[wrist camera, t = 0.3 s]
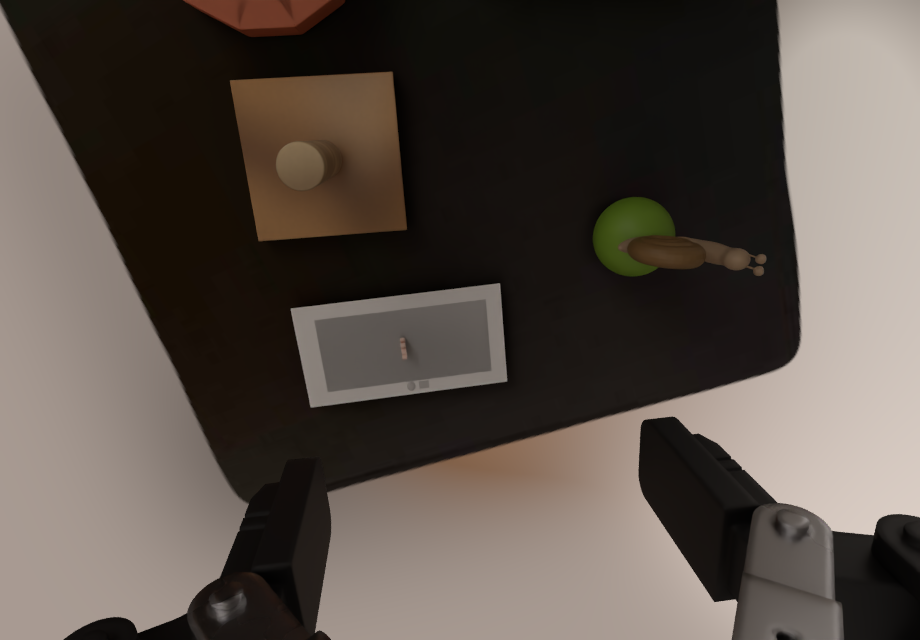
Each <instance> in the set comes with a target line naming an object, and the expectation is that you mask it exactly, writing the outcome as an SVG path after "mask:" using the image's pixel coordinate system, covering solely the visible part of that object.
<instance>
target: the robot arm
mask: <svg viewBox="0 0 920 640" xmlns="http://www.w3.org/2000/svg"><path fill="white" fill-rule="evenodd" d="M639 481H640V486H641V490H642V493H643V495H644V497H645V499H646V500H647V502H648V503H649V505H650V506H651V508H652V509H653V511H654V512H655V514H656V515H657V517H658V518H659V520H660V521H661V523H662V524H663V526H664V527H665V529H666V530H667V532H668V533H669V535H670V536H671V538H672V539H673V541H674V542H675V544H676V545H677V547H678V548H679V549H680V551H681V553H682V554H683V555H684V557H685V558H686V560H687V561H688V563H689V564H690V566H691V567H692V569H693V571H694V572H695V574H696V575H697V577H698V578H699V580H700V581H701V583H702V584H703V586H704V587H705V588H706V590H707V591H708V593H709V594H710V596H711V598H712V599H713V600H714V602H719V601H725V600H732V599H736V601H737V602H738V604H737V611H736V616H735V622H734V629H733V635H732V640H920V518H919V517H915V516H910V515H902V514H893V515H887V516H884V517H882V518H881V519H879V520H878V522H877V525H876V529H875V533H874V535H864V534H855V533H845V532H835V531H831V529H830V527H829V526H828V525H827V524H826V523H825V522H824V521H823V520H822V519H821V518H819V517H818V516H817V515H815V514H813V513H811V512H809V511H808V510H805V509H803V508H800V507H797V506H793V505H789V504H782V503H777V502H776V501H775V500H774V499H773V498H772V497H771V496H770V495H769V494H768V493H767V492H766V491H765V490H764V489H763V488H762V487H761V486H760V485H759V484H758V483H757V482H756V481H755V480H754V479H753V478H752V477H751V476H750V475H749V474H748V473H747V472H746V471H745V470H742V467H741V466H740V465H739V464H738V463H737V462H736V461H735V460H733V459H731V456H730V455H729V454H727V452H725V451H724V449H723V448H722V447H720V446H719V445H718V444H717V443H715V442H713V441H711V440H709V439H707V438H706V437H704V436H702V435H700V434H691V433H690V432H689V431H688V429H686V428H685V427H684V425H683V424H682V423H681V422H680V421H679V420H678V419H677V418H675V417H665V418H657V419H648V420H644V421H643V422H642V425H641V433H640V453H639ZM330 537H331V515H330V508H329V502H328V496H327V490H326V484H325V479H324V473H323V467H322V462H321V459H320V457H311V458H302V459H294V460H288V461H287V462H286V465H285V468H284V471H283V474H282V477H281V480H280V482H278V483H270V484H265V485H264V486H263V487H262V488H261V489H260V490H259V491H258V492H257V493H256V494H255V495H254V496H253V498H252V499H251V500H250V503H249V505H248V508H247V511H246V513H245V518H243V521H242V523H241V526H240V531H239V532H238V533H237V536H236V539H235V541H234V544H233V546H232V549H231V551H230V554H229V556H228V559H227V561H226V564H225V566H224V569H223V571H222V574H221V576H220V578H219V579H217V580H215V581H213V582H212V583H210V584H208V585H207V586H206V587H204V588H203V589H202V590H201V591H200V592H199V593H198V594H197V595H196V596H195V598H194V599H193V600H192V602H191V604H190V606H189V608H188V612H187V613H186V614H185V615H183V616H181V617H179V618H176V619H174V620H172V621H169V622H166V623H164V624H161V625H159V626H156V627H153V628H151V629H148V630H145V631H143V632H140V633H137V630H136V628H135V625H134V624H133V623H132V622H131V621H130V620H128V619H126V618H121V617H113V618H106V619H102V620H98V621H95V622H92V623H90V624H88V625H86V626H84V627H82V628H80V629H78V630H77V631H75V632H73V633H72V634H70V635H69V636H68V637H67V638H65V639H64V640H331V639H330V638H329V637H328V636H327V635H326V634H325V633H324V632H322V631H317V632H316V633H315V628H316V622H317V616H318V610H319V604H320V597H321V592H322V586H323V580H324V573H325V567H326V561H327V555H328V549H329V543H330Z"/></svg>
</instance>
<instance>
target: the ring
mask: <svg viewBox="0 0 920 640" xmlns="http://www.w3.org/2000/svg"><path fill="white" fill-rule="evenodd" d="M184 1H185V2H186V3H188V4H189V5H191V6H193V7H194V8H196V9H197V10H199V11H201V12H203V13H205V14H207V15H209V16H210V17H212V18H214V19H216V20H218V21H220V22H222V23H224V24H226V25H228V26H230V27H231V28H233V29H235V30H237V31H239V32H241V33H243V34H245V35H247V36H249V37H264V36H284V35H302V34H304V33H305V32H307V31H308V30H309V29H311V28H312V27H313V26H315V25H316V24H317V23H319V22H320V21H321V20H323V19H324V18H325V17H327V16H328V15H329V14H331V13H332V12H333V11H335V10H336V9H337V8H339V7H340V6H341V5H343V3H345V0H184Z"/></svg>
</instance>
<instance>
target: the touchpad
mask: <svg viewBox="0 0 920 640" xmlns="http://www.w3.org/2000/svg"><path fill="white" fill-rule="evenodd" d="M291 313H292V318H293V323H294V328H295V333H296V338H297V343H298V348H299V352H300V357H301V362H302V367H303V372H304V377H305V382H306V387H307V391H308V396H309V401H310V406H311V407H319V406H326V405H334V404H341V403H349V402H356V401H364V400H371V399H379V398H386V397H394V396H401V395H409V394H416V393H424V392H431V391H439V390H446V389H454V388H461V387H469V386H476V385H483V384H491V383H498V382H506V381H507V371H506V358H505V344H504V331H503V317H502V304H501V290H500V283H498V284H490V285H482V286H474V287H465V288H457V289H449V290H440V291H432V292H424V293H416V294H407V295H399V296H391V297H383V298H374V299H366V300H358V301H350V302H341V303H333V304H325V305H316V306H308V307H300V308H292V309H291Z"/></svg>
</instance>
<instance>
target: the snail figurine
mask: <svg viewBox="0 0 920 640" xmlns="http://www.w3.org/2000/svg"><path fill="white" fill-rule="evenodd" d="M593 245H594V249H595V252H596V254H597V256H598V258H599V260H600V261H601V262H602V263H603V264H604V265H605V266H606V267H607V268H608V269H610V270H611V271H613V272H615V273H617V274H620V275H624V276H641V275H645V274H648V273H650V272H652V271H654V270H656V269H657V268H658V267H661V268H669V269H692V268H696V267H698V266H700V265H702V264H703V263H704V261H706V262H709V263H713V264H718V265H724V266H726V267H727V268H729V269H731V270H741V269H744V268H750V269H753V272H754V274H755V275H756V276H761V275H762V274H763V273H764V268H763V267H761V266H757V267H755V268H752V267H749V266H748V264H749V263H750V257H755V258H756V259H755V260H756V262H757V263H758V264H763V263H765V262H766V256H765V255H763V254H759V255H757V256H753V255H750V254H748V252H747V251H745V250H743V249H741V248H730V247H728V246H725V245H723V244H720V243H716V242H711V241H704V240H698V239H692V238H688V237H675V227H674V224H673V221H672V219H671V217H670V215H669V213H668V212H667V211H666V210H665V209H664V208H663V207H662V206H661V205H660V204H658V203H657V202H655V201H653V200H650V199H647V198H643V197H629V198H624V199H621V200H619V201H617V202H615V203H613V204H611V205H610V206H609V207H608V208H606V209H605V210H604V211H603V213H602V214H601V215H600V217H599V218H598V220H597V222H596V225H595V228H594V232H593Z"/></svg>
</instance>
